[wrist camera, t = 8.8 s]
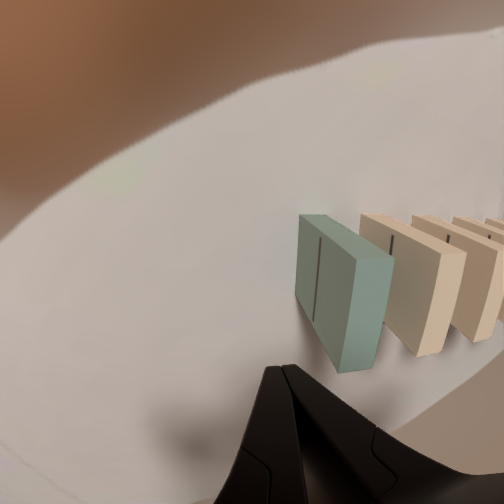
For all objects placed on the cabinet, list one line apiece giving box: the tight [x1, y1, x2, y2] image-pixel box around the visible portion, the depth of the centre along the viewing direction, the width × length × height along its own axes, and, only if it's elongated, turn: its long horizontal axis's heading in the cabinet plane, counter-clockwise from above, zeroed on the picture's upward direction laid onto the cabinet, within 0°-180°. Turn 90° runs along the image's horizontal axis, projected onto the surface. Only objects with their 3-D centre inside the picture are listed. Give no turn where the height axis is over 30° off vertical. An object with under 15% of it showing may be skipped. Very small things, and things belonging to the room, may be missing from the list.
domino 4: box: [453, 217, 504, 323], centre depth 16 cm, size 2×5×8 cm, turn 1°
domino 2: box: [359, 214, 467, 358], centre depth 16 cm, size 2×5×8 cm, turn 0°
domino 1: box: [295, 215, 395, 374], centre depth 15 cm, size 2×5×8 cm, turn 0°
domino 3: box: [411, 215, 504, 343], centre depth 16 cm, size 2×5×8 cm, turn 1°
